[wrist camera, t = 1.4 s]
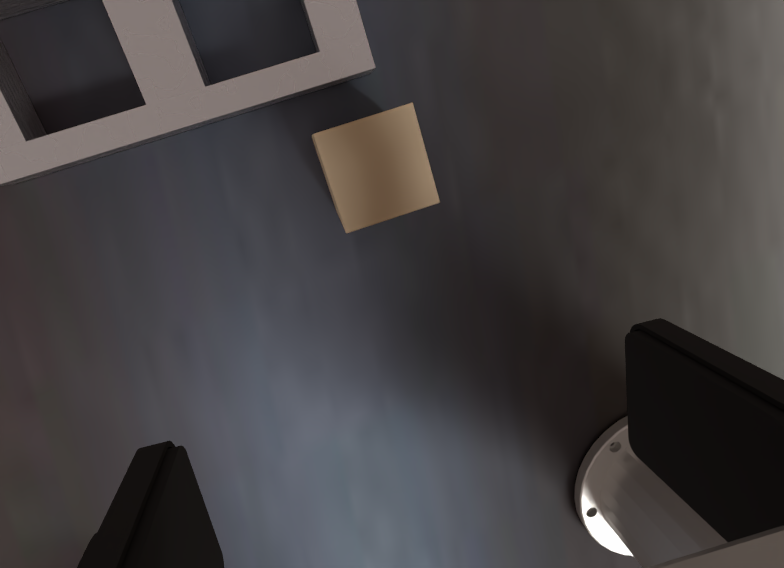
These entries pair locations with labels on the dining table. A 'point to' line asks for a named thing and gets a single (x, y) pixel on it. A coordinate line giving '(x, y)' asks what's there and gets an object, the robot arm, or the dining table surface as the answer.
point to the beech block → (376, 167)
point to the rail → (170, 83)
